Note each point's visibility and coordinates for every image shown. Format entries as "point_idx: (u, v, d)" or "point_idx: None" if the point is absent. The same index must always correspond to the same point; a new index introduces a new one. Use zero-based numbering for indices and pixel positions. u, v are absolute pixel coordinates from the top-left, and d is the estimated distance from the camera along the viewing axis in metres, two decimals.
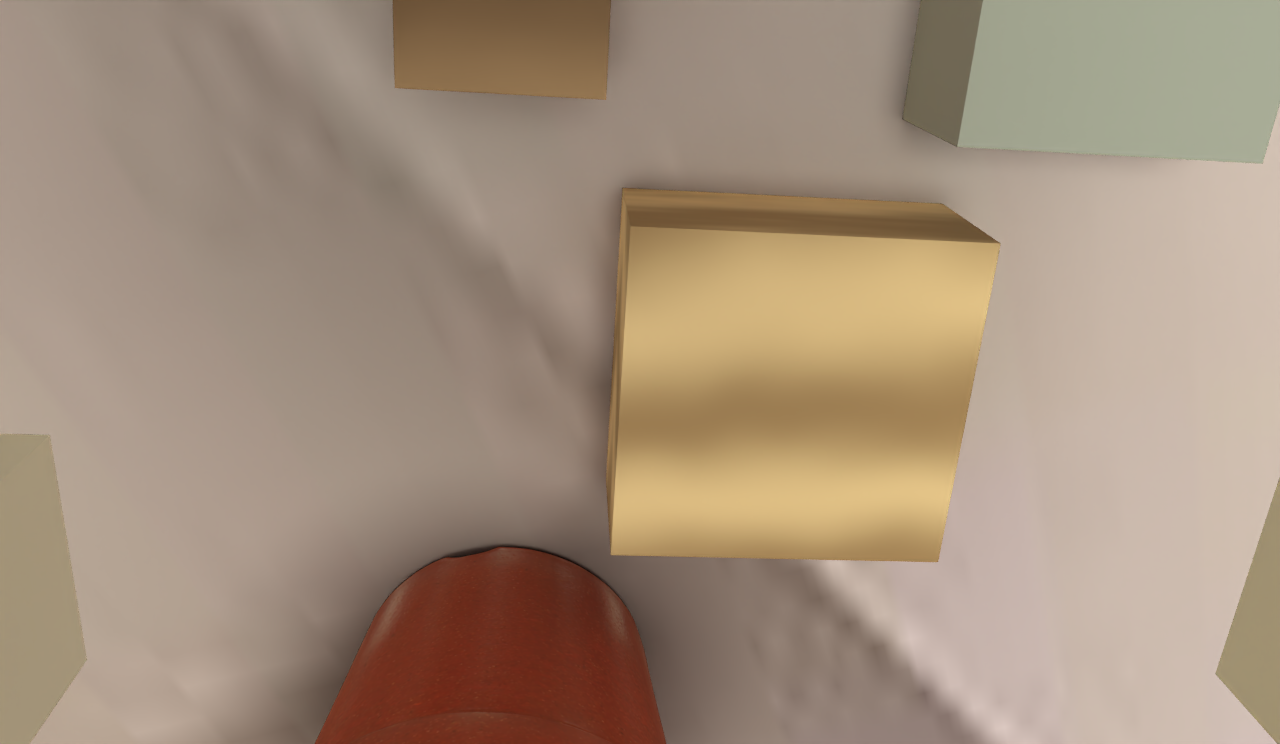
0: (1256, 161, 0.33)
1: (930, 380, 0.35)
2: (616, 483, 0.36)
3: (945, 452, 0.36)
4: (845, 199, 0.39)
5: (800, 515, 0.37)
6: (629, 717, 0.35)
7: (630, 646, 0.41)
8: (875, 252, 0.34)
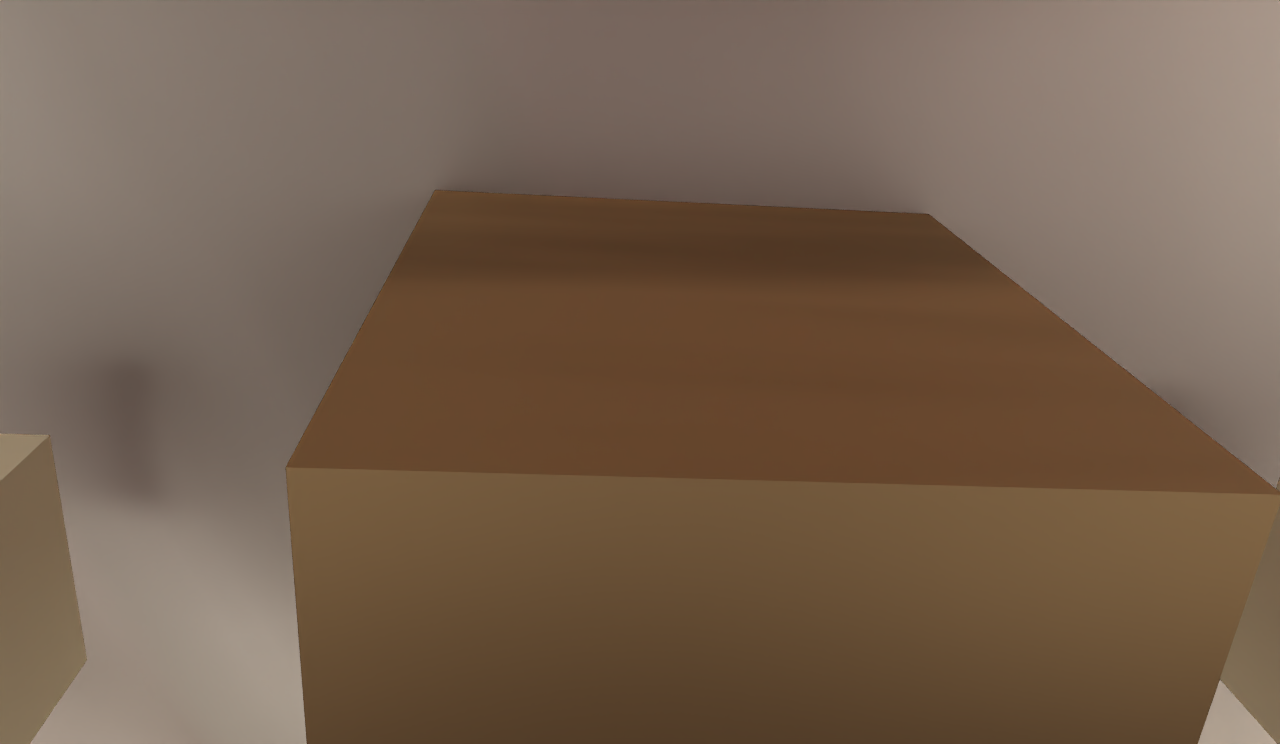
0: None
1: None
2: None
3: None
4: None
5: None
6: None
7: None
8: None
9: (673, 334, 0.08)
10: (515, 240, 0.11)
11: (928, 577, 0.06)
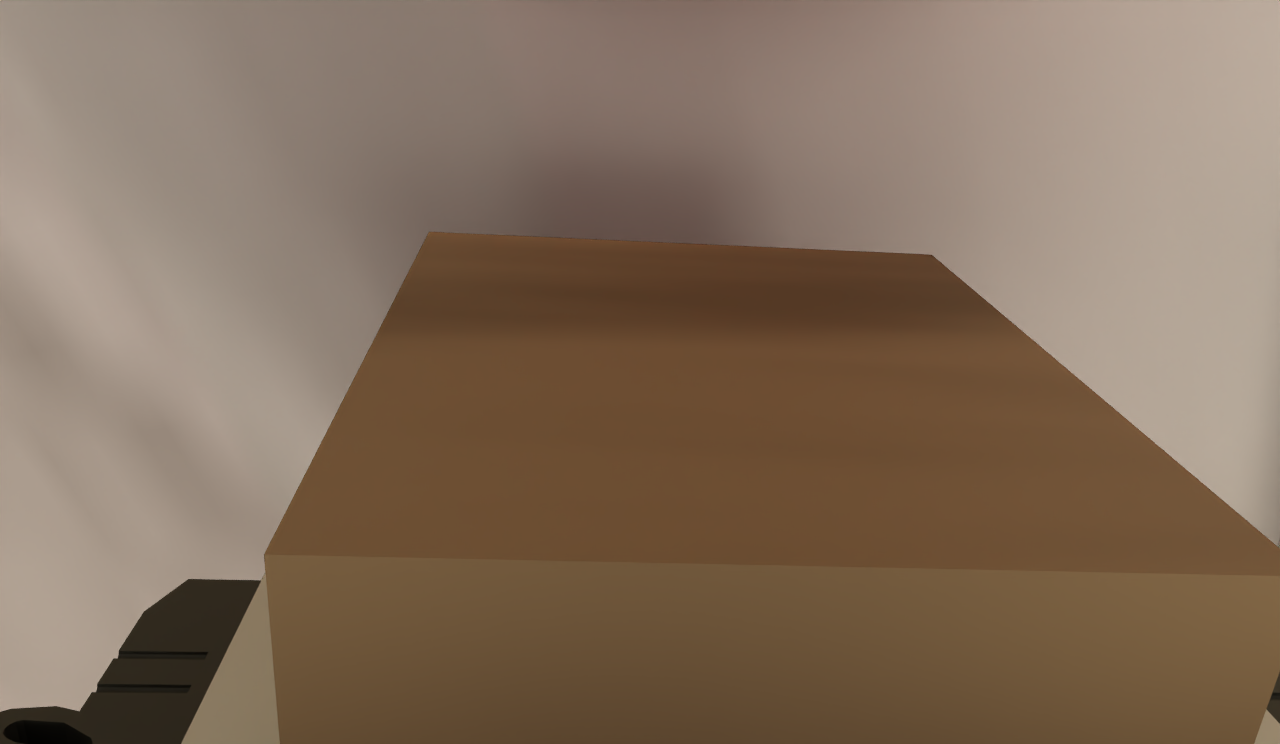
0: None
1: None
2: None
3: None
4: None
5: None
6: None
7: None
8: None
9: (673, 395, 0.08)
10: (510, 288, 0.10)
11: (940, 661, 0.06)
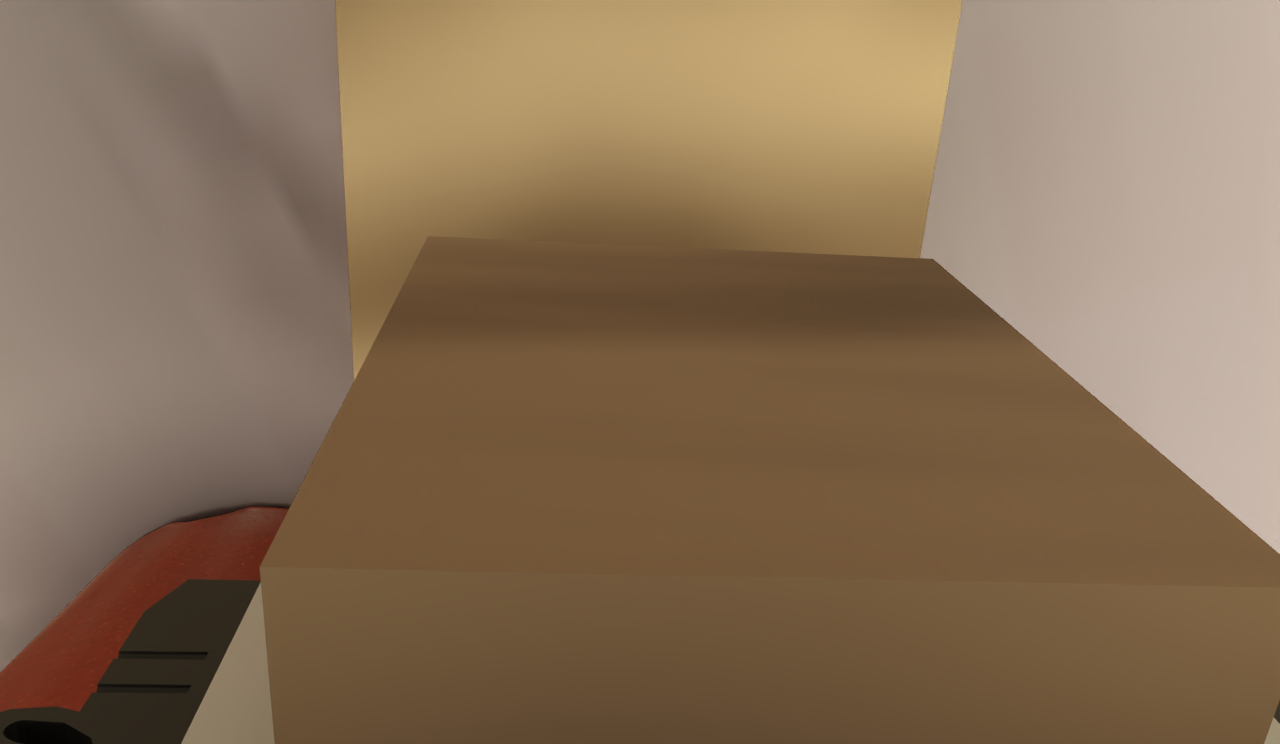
0: None
1: (854, 222, 0.22)
2: None
3: None
4: None
5: None
6: None
7: None
8: None
9: (672, 403, 0.08)
10: (509, 294, 0.10)
11: (941, 675, 0.06)
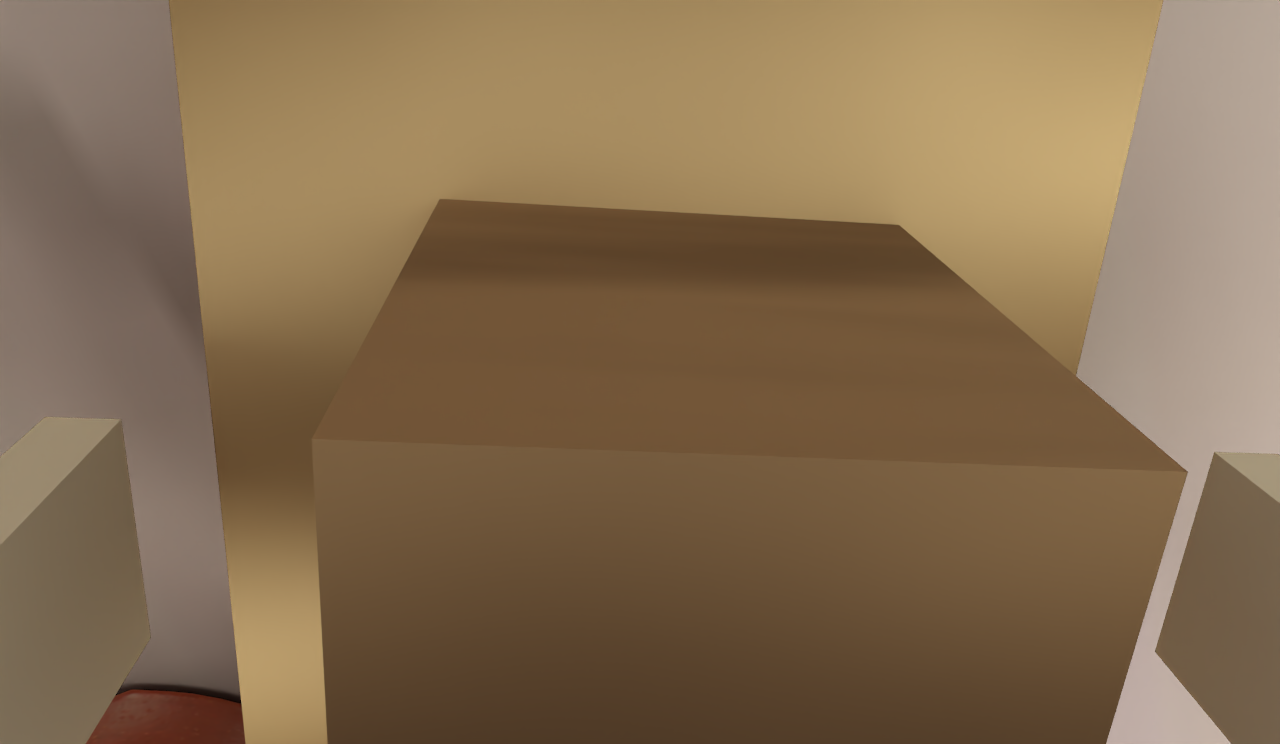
0: None
1: None
2: (234, 603, 0.15)
3: None
4: None
5: None
6: None
7: None
8: (837, 20, 0.13)
9: (656, 332, 0.09)
10: (514, 246, 0.11)
11: (875, 543, 0.07)
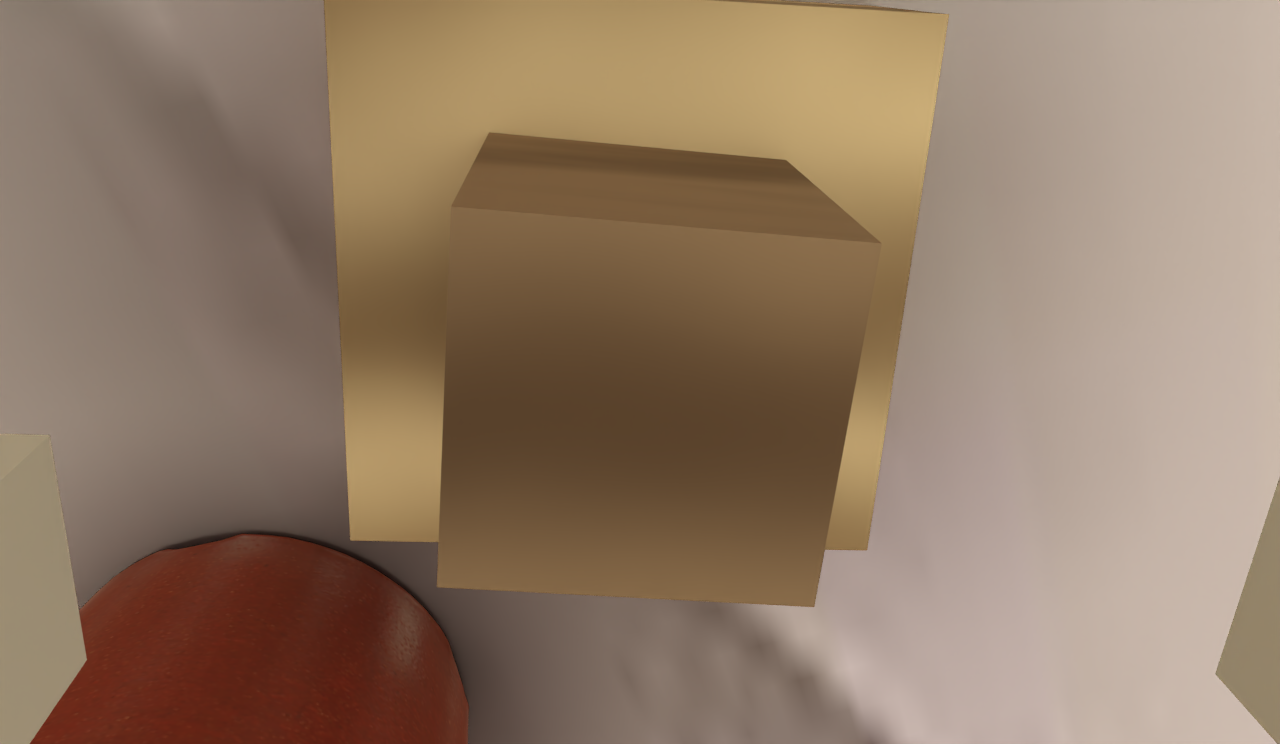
0: None
1: None
2: (347, 424, 0.23)
3: (871, 374, 0.23)
4: None
5: None
6: None
7: (417, 680, 0.27)
8: (741, 29, 0.20)
9: (622, 188, 0.17)
10: (540, 154, 0.19)
11: (726, 275, 0.15)
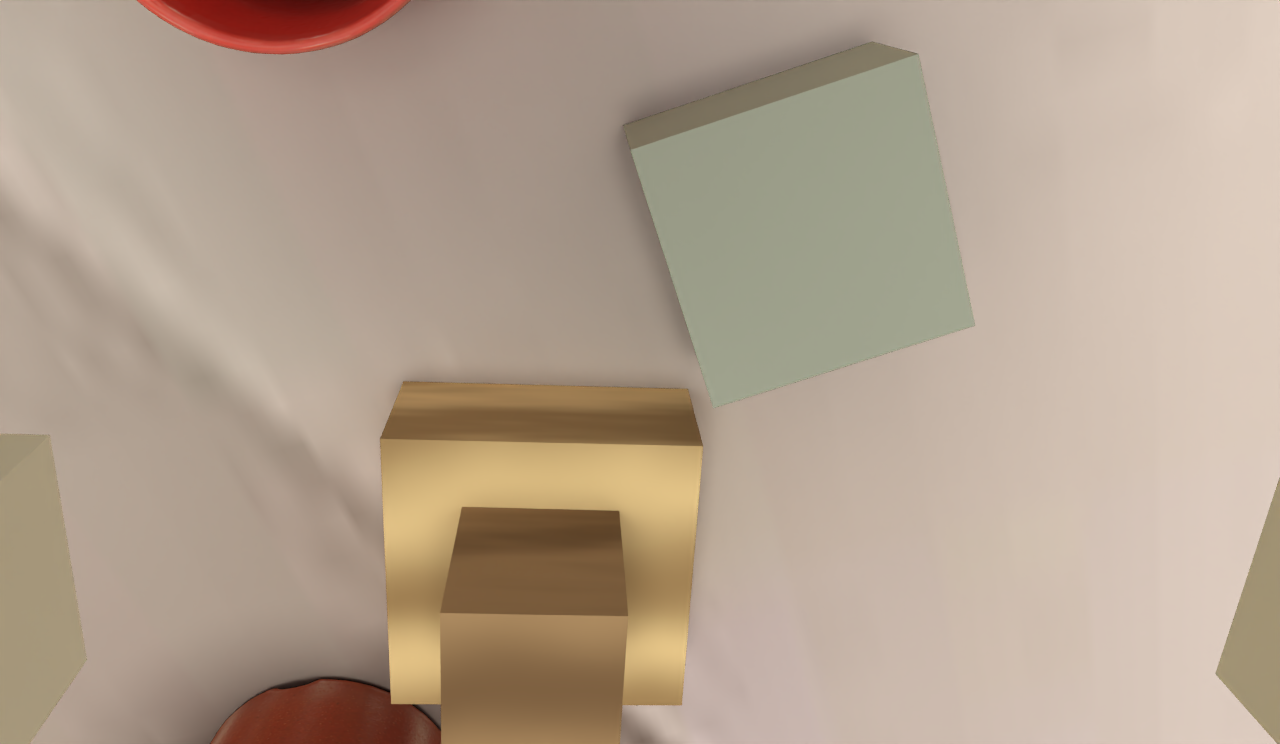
0: (969, 325, 0.38)
1: (655, 556, 0.41)
2: (390, 645, 0.42)
3: (676, 615, 0.42)
4: (600, 387, 0.44)
5: None
6: None
7: None
8: (595, 455, 0.39)
9: (520, 574, 0.35)
10: (485, 534, 0.38)
11: (561, 632, 0.34)
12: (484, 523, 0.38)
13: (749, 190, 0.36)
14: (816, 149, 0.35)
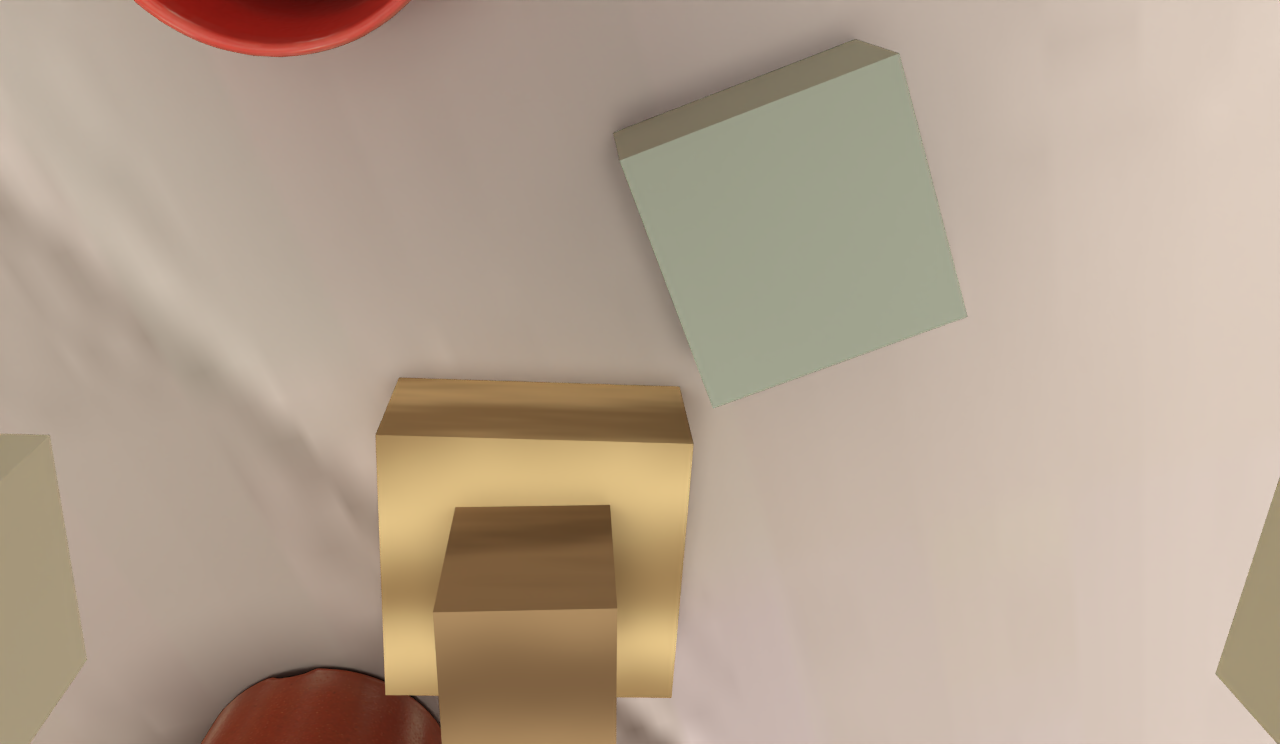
0: (961, 316, 0.39)
1: (646, 552, 0.42)
2: (384, 637, 0.42)
3: (667, 609, 0.43)
4: (593, 384, 0.45)
5: None
6: None
7: None
8: (587, 452, 0.40)
9: (512, 570, 0.36)
10: (478, 533, 0.38)
11: (552, 626, 0.34)
12: (477, 522, 0.39)
13: (738, 194, 0.36)
14: (803, 151, 0.36)
